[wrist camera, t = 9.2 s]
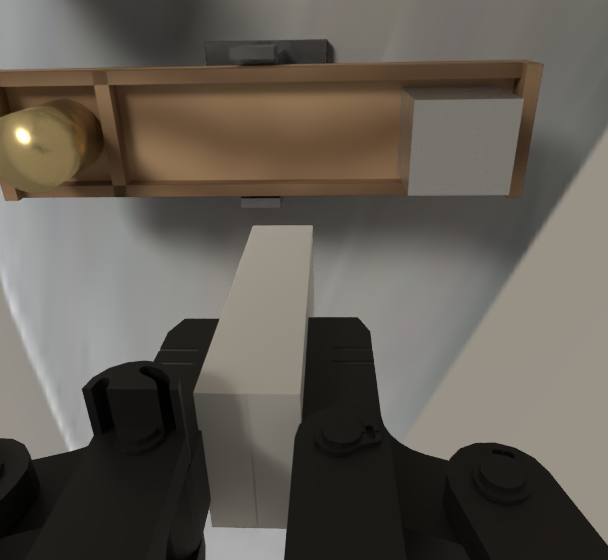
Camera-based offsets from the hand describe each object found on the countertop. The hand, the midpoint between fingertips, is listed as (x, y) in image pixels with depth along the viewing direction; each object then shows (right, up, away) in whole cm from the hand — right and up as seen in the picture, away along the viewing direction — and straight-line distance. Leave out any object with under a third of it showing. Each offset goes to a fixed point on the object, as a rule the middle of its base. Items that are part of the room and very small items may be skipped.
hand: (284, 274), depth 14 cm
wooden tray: (-2, +9, +18) cm, 20 cm away
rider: (+8, +8, +16) cm, 20 cm away
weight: (-13, +8, +17) cm, 23 cm away
